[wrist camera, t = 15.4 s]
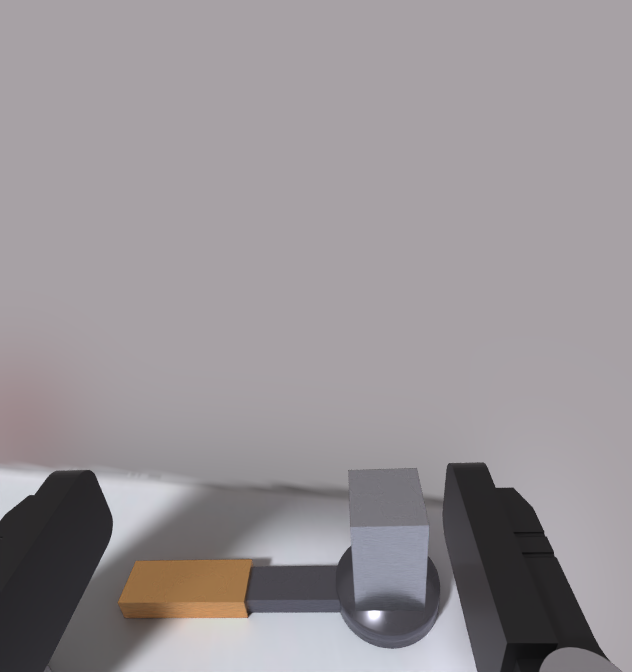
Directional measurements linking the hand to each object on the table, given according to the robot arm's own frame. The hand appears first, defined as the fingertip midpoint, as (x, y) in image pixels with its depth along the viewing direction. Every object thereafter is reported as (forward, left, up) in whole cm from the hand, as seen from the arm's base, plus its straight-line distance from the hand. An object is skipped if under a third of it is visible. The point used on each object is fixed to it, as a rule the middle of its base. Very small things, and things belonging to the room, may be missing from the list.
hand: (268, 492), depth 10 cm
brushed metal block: (+4, +15, -26) cm, 30 cm away
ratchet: (-5, +15, -28) cm, 32 cm away
